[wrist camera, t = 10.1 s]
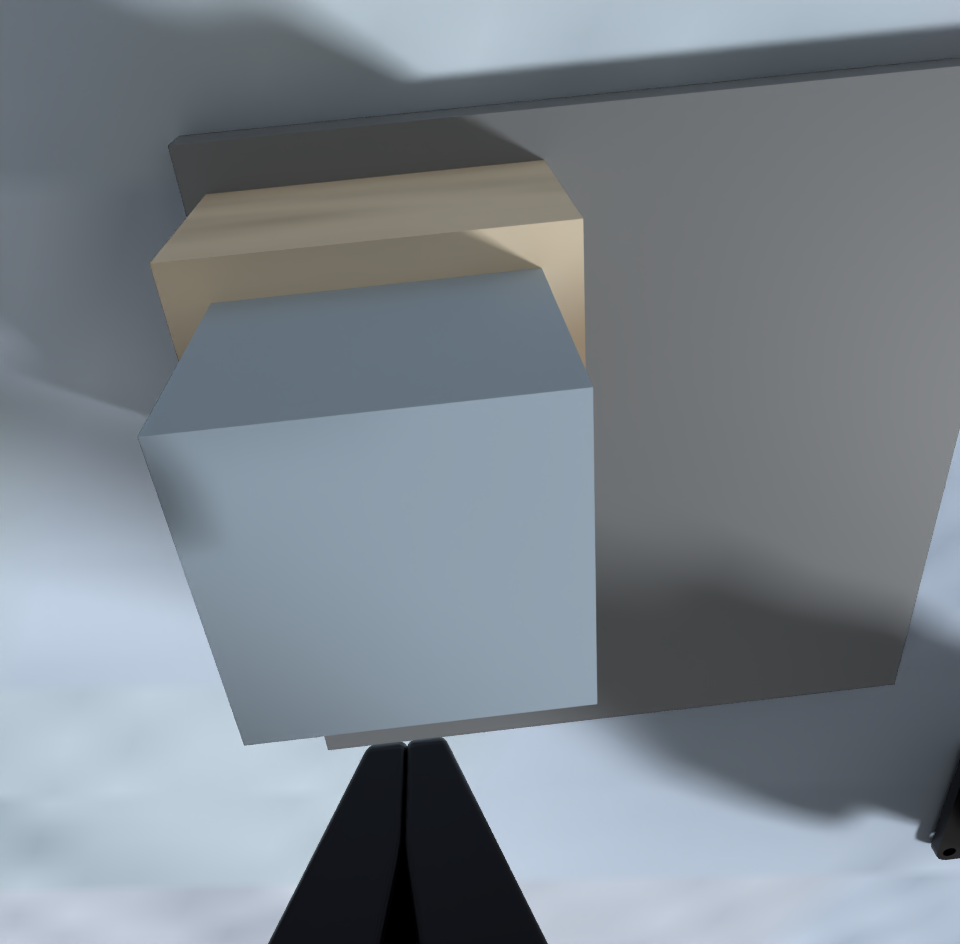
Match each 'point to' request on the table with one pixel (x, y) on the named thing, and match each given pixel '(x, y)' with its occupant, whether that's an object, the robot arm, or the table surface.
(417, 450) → the block
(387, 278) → the block
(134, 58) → the table surface
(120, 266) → the table surface
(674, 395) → the board
